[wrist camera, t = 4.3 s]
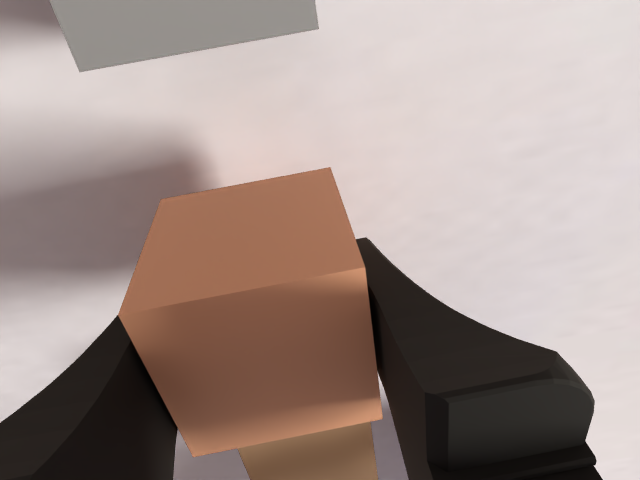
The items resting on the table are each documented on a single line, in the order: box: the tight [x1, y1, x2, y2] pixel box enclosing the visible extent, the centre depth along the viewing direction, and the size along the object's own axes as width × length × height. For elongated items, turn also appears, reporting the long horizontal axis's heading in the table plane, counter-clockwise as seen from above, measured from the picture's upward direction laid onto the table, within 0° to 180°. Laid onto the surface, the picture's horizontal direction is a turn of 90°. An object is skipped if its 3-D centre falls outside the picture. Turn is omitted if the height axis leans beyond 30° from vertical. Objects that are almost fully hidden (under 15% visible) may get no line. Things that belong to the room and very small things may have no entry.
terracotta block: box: [118, 167, 383, 457], centre depth 13 cm, size 5×5×5 cm
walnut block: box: [237, 422, 378, 480], centre depth 20 cm, size 5×5×5 cm
